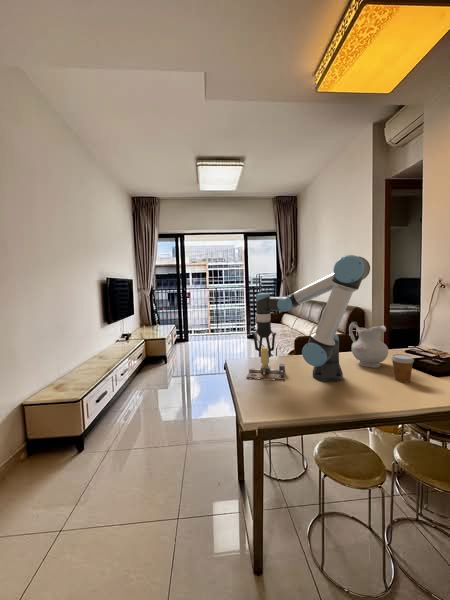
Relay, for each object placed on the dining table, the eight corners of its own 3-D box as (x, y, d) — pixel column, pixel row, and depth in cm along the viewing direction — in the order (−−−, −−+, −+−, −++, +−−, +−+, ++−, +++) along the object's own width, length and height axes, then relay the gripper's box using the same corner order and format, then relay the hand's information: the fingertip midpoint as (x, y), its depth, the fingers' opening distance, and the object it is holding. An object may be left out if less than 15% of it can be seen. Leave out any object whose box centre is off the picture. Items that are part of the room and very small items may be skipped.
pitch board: (285, 372, 150) (285, 363, 150) (284, 380, 139) (284, 370, 138) (250, 371, 156) (249, 362, 155) (246, 378, 144) (246, 368, 144)
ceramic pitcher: (343, 366, 160) (341, 326, 157) (352, 356, 174) (351, 319, 171) (384, 373, 146) (384, 329, 142) (391, 361, 160) (390, 321, 157)
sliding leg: (270, 370, 152) (269, 346, 151) (268, 375, 143) (268, 350, 142) (261, 370, 153) (260, 346, 152) (259, 375, 145) (258, 350, 144)
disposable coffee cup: (411, 377, 135) (411, 354, 134) (416, 384, 126) (416, 360, 126) (389, 375, 139) (389, 353, 138) (392, 382, 130) (392, 358, 130)
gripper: (278, 320, 150) (280, 361, 151) (250, 320, 154) (252, 360, 156) (277, 322, 143) (279, 365, 144) (248, 322, 147) (250, 364, 148)
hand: (265, 362), depth 150 cm, fingers closed on sliding leg, 3 cm apart
